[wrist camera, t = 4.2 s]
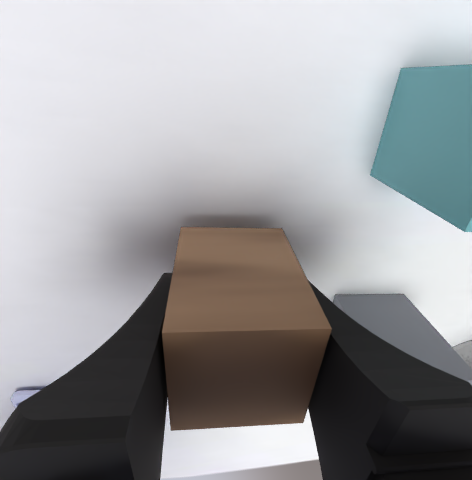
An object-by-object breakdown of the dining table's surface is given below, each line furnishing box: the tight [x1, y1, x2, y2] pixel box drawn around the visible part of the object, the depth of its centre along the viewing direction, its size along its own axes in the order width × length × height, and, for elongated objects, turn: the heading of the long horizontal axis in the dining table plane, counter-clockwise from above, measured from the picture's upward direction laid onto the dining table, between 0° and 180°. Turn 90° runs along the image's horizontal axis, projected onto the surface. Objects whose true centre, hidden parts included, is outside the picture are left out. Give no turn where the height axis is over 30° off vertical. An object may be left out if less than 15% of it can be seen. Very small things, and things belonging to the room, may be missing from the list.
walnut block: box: [162, 227, 332, 431], centre depth 11 cm, size 4×4×6 cm
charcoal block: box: [333, 294, 472, 385], centre depth 16 cm, size 4×4×6 cm
